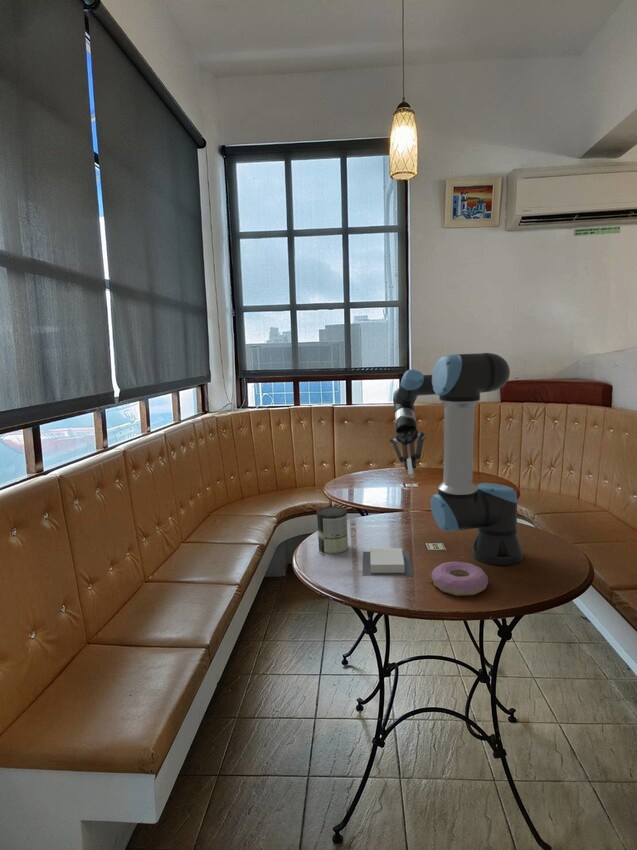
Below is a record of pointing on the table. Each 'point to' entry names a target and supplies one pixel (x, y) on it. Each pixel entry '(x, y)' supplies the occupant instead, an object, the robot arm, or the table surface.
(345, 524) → the coffee can
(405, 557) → the mat
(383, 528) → the table surface
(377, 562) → the tile
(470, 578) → the donut
